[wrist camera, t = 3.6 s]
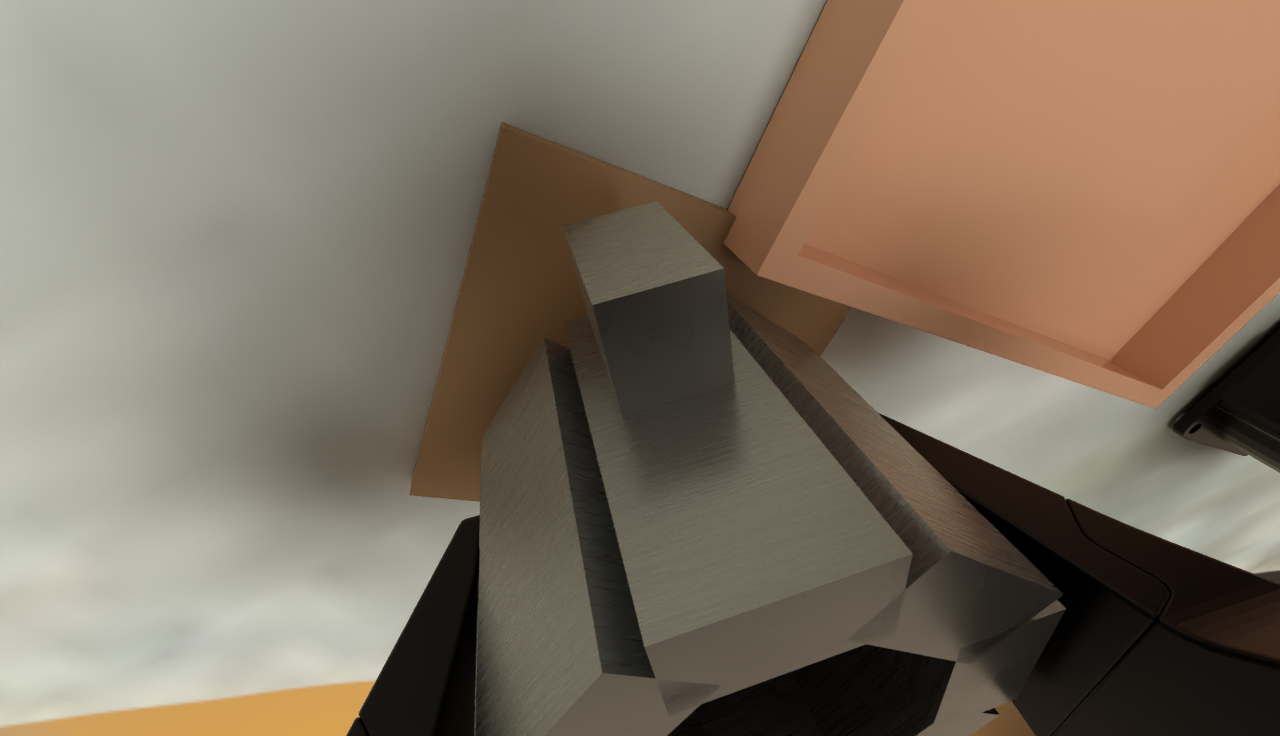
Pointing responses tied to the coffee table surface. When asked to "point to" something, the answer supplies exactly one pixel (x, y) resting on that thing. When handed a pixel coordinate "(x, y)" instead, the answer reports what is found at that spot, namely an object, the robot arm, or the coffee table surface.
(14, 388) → the coffee table surface
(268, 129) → the coffee table surface
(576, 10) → the coffee table surface
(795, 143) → the tray
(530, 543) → the grey tankard
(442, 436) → the square plate with peg
